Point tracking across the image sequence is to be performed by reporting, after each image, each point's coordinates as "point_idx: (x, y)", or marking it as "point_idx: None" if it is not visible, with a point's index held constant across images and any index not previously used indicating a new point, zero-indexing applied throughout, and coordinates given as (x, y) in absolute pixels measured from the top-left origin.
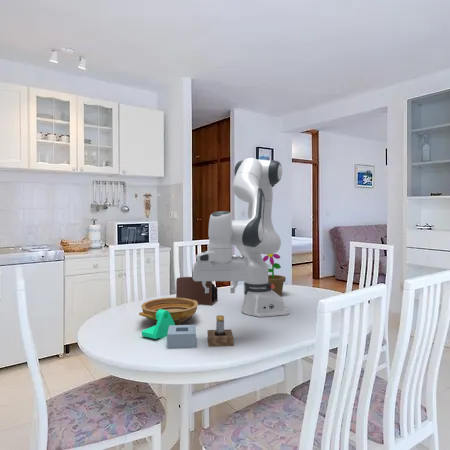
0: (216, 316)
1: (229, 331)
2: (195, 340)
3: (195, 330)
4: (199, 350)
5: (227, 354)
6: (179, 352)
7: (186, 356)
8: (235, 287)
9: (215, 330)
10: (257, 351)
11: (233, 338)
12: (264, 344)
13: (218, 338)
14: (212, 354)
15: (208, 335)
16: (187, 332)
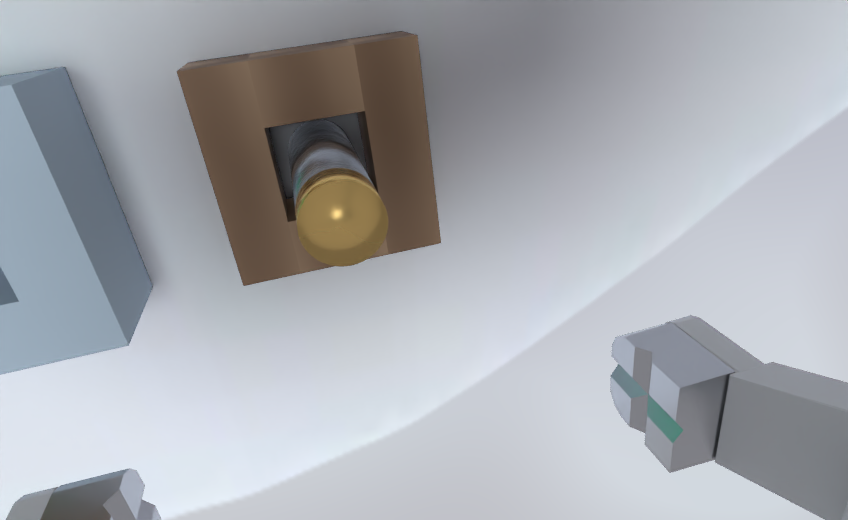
0: (299, 235)
1: (404, 100)
2: (138, 315)
3: (91, 271)
4: (197, 326)
5: (391, 350)
6: (61, 379)
7: (139, 421)
8: (777, 468)
9: (265, 81)
10: (562, 283)
11: (438, 239)
12: (624, 169)
13: (324, 266)
14: (300, 366)
15: (227, 224)
16: (31, 334)
